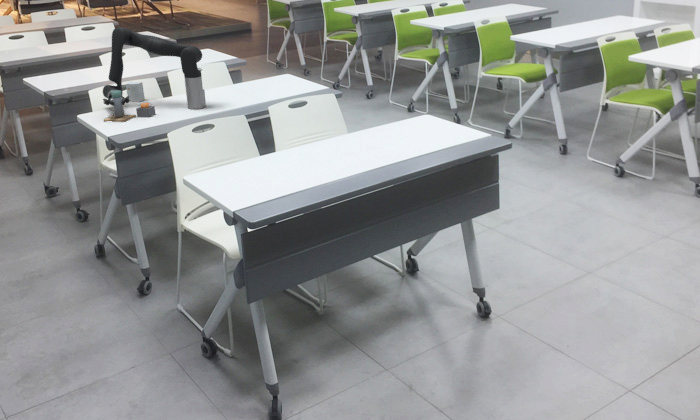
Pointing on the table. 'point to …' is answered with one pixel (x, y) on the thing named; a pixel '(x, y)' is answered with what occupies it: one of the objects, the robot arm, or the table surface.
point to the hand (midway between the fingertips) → (118, 103)
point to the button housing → (145, 111)
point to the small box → (135, 91)
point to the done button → (144, 105)
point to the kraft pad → (120, 118)
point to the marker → (117, 103)
